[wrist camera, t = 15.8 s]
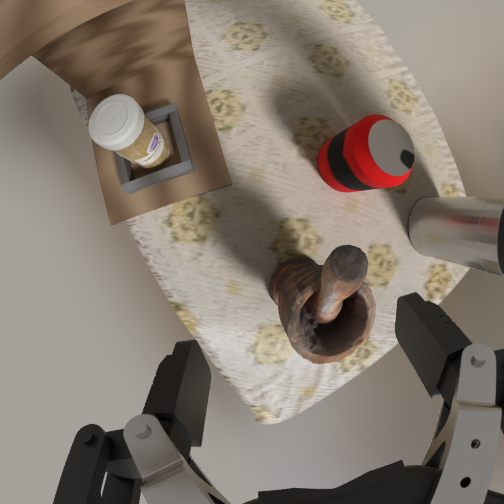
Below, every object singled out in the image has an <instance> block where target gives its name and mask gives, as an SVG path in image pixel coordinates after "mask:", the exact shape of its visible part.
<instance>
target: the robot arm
mask: <svg viewBox="0 0 504 504" xmlns="http://www.w3.org/2000/svg"><path fill="white" fill-rule="evenodd" d="M408 228H409V236H410V240H411V243H412V245H413V247H414V248H415V249H416V250H417V251H418V252H419V253H420V254H422V255H426V256H430V257H434V258H437V259H441V260H445V261H448V262H452V263H456V264H459V265H463V266H467V267H470V268H474V269H478V270H481V271H484V272H488V273H491V274H495V275H498V276H502V277H504V197H427V198H423V199H421V200H419V201H418V202H417V203H416V204H415V206H414V207H413V209H412V211H411V214H410V218H409V227H408ZM395 334H396V338H397V340H398V342H399V344H400V345H401V347H402V349H403V350H404V352H405V353H406V355H407V357H408V358H409V360H410V362H411V364H412V365H413V367H414V369H415V370H416V372H417V374H418V376H419V377H420V379H421V381H422V383H423V384H424V386H425V388H426V390H427V392H428V393H429V395H430V397H431V399H432V398H434V397H436V396H438V395H440V394H441V395H442V397H443V401H442V404H441V408H440V412H439V416H438V420H437V424H436V428H435V431H434V434H433V438H432V441H431V444H430V446H429V448H428V450H427V453H426V454H425V457H424V459H423V461H422V463H421V465H410V466H404V464H403V461H402V460H400V461H398V462H395V463H392V464H389V465H387V466H384V467H381V468H378V469H375V470H372V471H369V472H367V473H365V474H363V475H361V476H359V477H357V478H355V479H354V480H352V481H350V482H348V483H346V484H343V485H341V486H339V487H337V488H334V489H305V488H291V489H282V490H272V491H260V492H258V498H257V499H254V500H251V501H248V502H245V503H244V504H504V495H503V494H500V493H497V492H494V491H491V490H488V487H489V484H490V480H491V476H492V472H493V468H494V463H495V458H496V452H497V447H498V441H499V434H500V428H501V430H502V432H503V434H504V349H501V350H496V351H493V350H492V349H491V348H489V347H488V346H486V345H484V344H472V342H470V340H469V339H468V338H467V337H466V335H465V334H464V333H463V332H462V331H461V330H460V329H459V327H458V326H457V325H456V324H455V323H454V322H452V319H451V318H450V317H449V316H448V315H446V313H445V312H444V311H443V310H442V309H441V307H440V306H438V305H436V304H434V303H432V302H430V301H426V302H425V301H424V300H423V298H422V297H421V296H420V295H419V294H418V293H416V292H414V293H411V294H408V295H404V296H401V297H399V298H398V300H397V311H396V322H395ZM210 383H211V372H210V368H209V365H208V363H207V361H206V359H205V357H204V355H203V352H202V350H201V348H200V346H199V344H198V342H197V341H196V340H188V341H179V342H177V343H176V344H175V347H174V351H173V353H172V355H167V356H166V357H165V358H164V360H163V361H162V362H161V363H160V364H159V367H158V369H157V372H156V376H155V378H154V380H153V384H152V386H151V389H150V392H149V395H148V397H147V400H146V403H145V406H144V409H143V412H142V414H141V415H138V416H135V417H134V418H132V419H131V420H130V421H129V422H128V423H127V424H126V426H125V428H124V429H121V430H115V431H110V432H105V431H104V430H103V429H102V428H101V427H100V426H98V425H95V424H89V425H86V426H84V427H82V428H81V429H80V430H79V431H78V432H77V434H76V436H75V439H74V441H73V444H72V447H71V449H70V453H69V455H68V458H67V461H66V463H65V466H64V469H63V472H62V475H61V478H60V481H59V485H58V488H57V491H56V495H55V498H54V502H53V504H139V500H140V494H141V491H142V494H143V495H144V497H145V499H146V501H147V503H148V504H231V503H230V502H229V501H228V500H227V499H226V498H225V497H224V496H223V495H222V494H221V493H220V492H219V491H218V490H217V489H216V488H215V487H214V486H213V484H212V483H211V482H210V480H209V479H208V478H207V477H206V475H205V474H204V473H203V471H202V470H201V469H200V468H199V466H198V465H197V463H196V462H195V461H194V459H193V458H192V457H191V455H190V449H191V447H195V446H197V447H201V444H202V437H203V430H204V423H205V416H206V410H207V403H208V396H209V390H210ZM105 472H107V473H108V474H107V477H106V481H105V485H104V489H103V494H102V497H101V487H102V483H103V479H104V475H105ZM142 482H143V483H142Z"/></svg>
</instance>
